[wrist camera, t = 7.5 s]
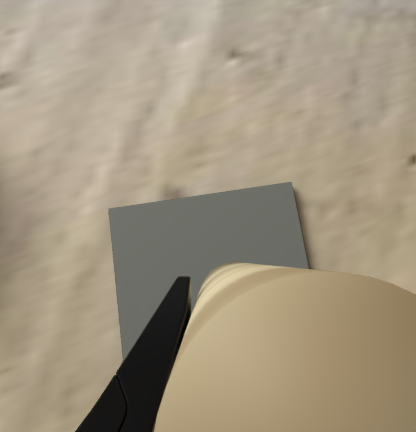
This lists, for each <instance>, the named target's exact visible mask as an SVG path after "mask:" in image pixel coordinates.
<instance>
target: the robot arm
mask: <svg viewBox="0 0 416 432" xmlns="http://www.w3.org/2000/svg"><path fill="white" fill-rule="evenodd" d="M191 304H192V289H191V278H190V277H189V276H178V277H177V278H176V280H175V281H174V283H173V284H172V286H171V288H170V289H169V291H168V292H167V294H166V295H165V297H164V299H163V300H162V302H161V303H160V305H159V306H158V308H157V309H156V311H155V313H154V314H153V316H152V317H151V319H150V320H149V322H148V324H147V325H146V327H145V328H144V330H143V331H142V333H141V334H140V336H139V338H138V339H137V341H136V342H135V344H134V345H133V347H132V349H131V350H130V352H129V353H128V355H127V356H126V358H125V360H124V361H123V363H122V364H121V366H120V367H119V369H118V370H117V372H116V375H114V376H113V378H112V380H111V381H110V383H109V384H108V386H107V387H106V389H105V390H104V392H103V393H102V395H101V396H100V398H99V399H98V401H97V402H96V404H95V405H94V407H93V408H92V410H91V411H90V412H89V414H88V415H87V416H86V418H85V419H84V420H83V422H82V423H81V424H80V426H79V427H78V428H77V430H76V431H75V432H154V429H155V424H156V419H157V414H158V411H159V408H160V405H161V401H162V398H163V395H164V392H165V389H166V386H167V383H168V380H169V377H170V374H171V372H172V369H173V366H174V363H175V360H176V357H177V354H178V352H179V349H180V346H181V343H182V340H183V337H184V334H185V331H186V329H187V326H188V323H189V320H190V317H191Z"/></svg>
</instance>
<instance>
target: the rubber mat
mask: <svg viewBox="0 0 416 432" xmlns="http://www.w3.org/2000/svg"><path fill="white" fill-rule="evenodd" d="M108 210H109V220H110V231H111V241H112V251H113V262H114V272H115V282H116V293H117V303H118V313H119V324H120V334H121V344H122V355H123V361H124V360H125V358H126V356H127V355H128V353H129V352H130V350H131V349H132V347H133V345H134V344H135V342H136V341H137V339H138V338H139V336H140V334H141V333H142V331H143V330H144V328H145V327H146V325H147V324H148V322H149V320H150V319H151V317H152V316H153V314H154V313H155V311H156V309H157V308H158V306H159V305H160V303H161V302H162V300H163V299H164V297H165V295H166V294H167V292H168V291H169V289H170V288H171V286H172V284H173V283H174V281H175V280H176V278H177V277H178V276H189V277H190V278H191V289H192V304H191V314H192V311H193V308H194V306H195V303H196V300H197V297H198V294H199V291H200V288H201V285H202V283H203V281H204V280H205V278H206V277H207V275H208V274H209V273H210V272H211V271H212V270H213V269H215V268H216V267H218V266H220V265H222V264H225V263H230V262H241V263H251V264H261V265H272V266H282V267H292V268H302V269H309V267H308V262H307V257H306V252H305V247H304V242H303V237H302V232H301V227H300V222H299V217H298V212H297V207H296V202H295V197H294V192H293V187H292V182H287V183H281V184H274V185H267V186H260V187H253V188H247V189H240V190H233V191H226V192H219V193H213V194H206V195H199V196H192V197H185V198H178V199H172V200H165V201H158V202H151V203H144V204H138V205H131V206H124V207H117V208H110V209H108Z"/></svg>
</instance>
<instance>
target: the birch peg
mask: <svg viewBox="0 0 416 432" xmlns="http://www.w3.org/2000/svg"><path fill="white" fill-rule="evenodd" d="M154 432H416V295H415V294H413V293H411V292H409V291H407V290H405V289H402V288H400V287H398V286H396V285H394V284H391V283H388V282H385V281H381V280H378V279H375V278H372V277H367V276H362V275H356V274H351V273H343V272H333V271H323V270H313V269H302V268H292V267H282V266H272V265H261V264H251V263H241V262H230V263H225V264H222V265H220V266H218V267H216V268H215V269H213V270H212V271H211V272H210V273H209V274H208V275H207V277H206V278H205V280H204V281H203V283H202V285H201V288H200V291H199V294H198V297H197V300H196V303H195V306H194V308H193V311H192V314H191V317H190V320H189V323H188V326H187V329H186V331H185V334H184V337H183V340H182V343H181V346H180V349H179V352H178V354H177V357H176V360H175V363H174V366H173V369H172V372H171V374H170V377H169V380H168V383H167V386H166V389H165V392H164V395H163V398H162V401H161V405H160V408H159V411H158V414H157V419H156V424H155V429H154Z"/></svg>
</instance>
